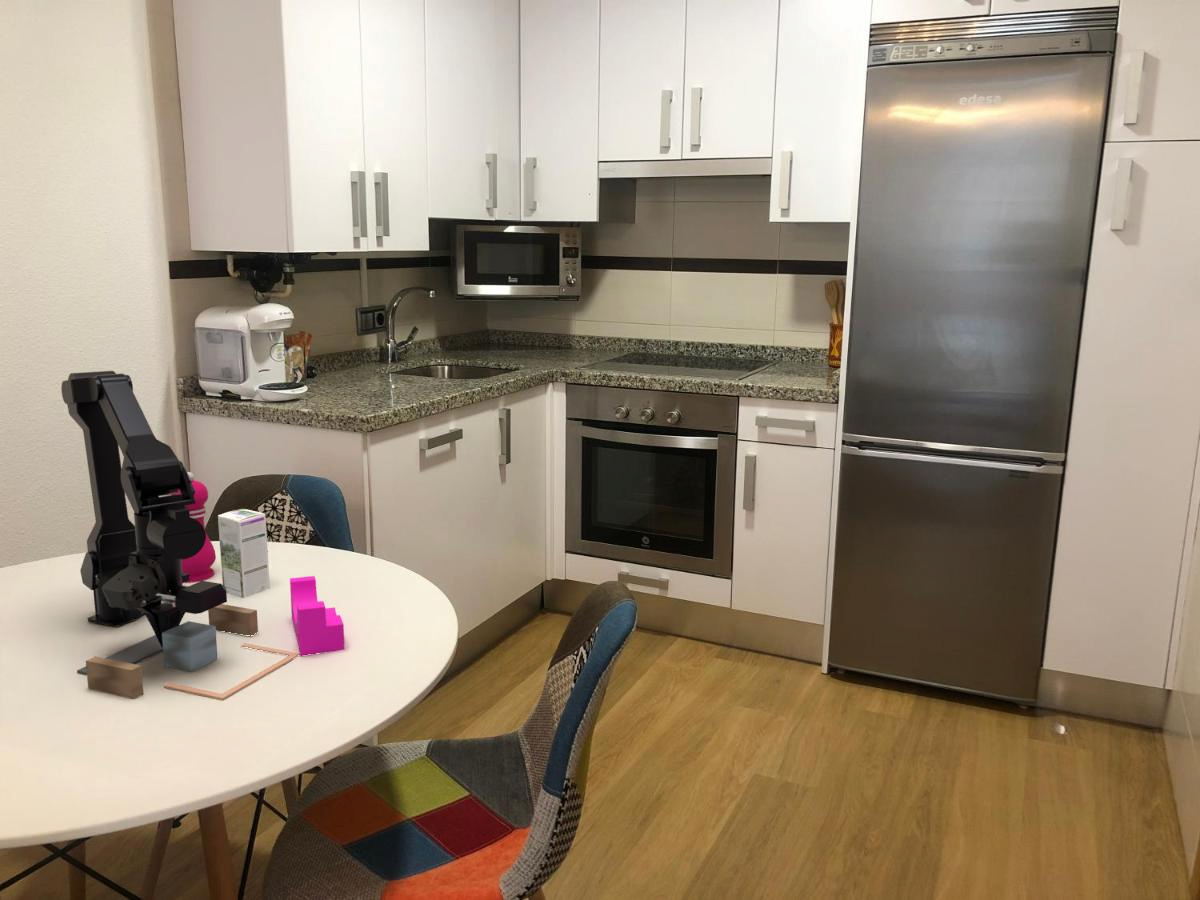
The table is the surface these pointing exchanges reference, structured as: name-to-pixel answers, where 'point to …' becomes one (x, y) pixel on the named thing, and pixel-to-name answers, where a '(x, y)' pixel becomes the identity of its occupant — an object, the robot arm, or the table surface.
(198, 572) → the pepper mill
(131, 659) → the grey flat board
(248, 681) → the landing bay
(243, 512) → the syrup box
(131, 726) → the table surface
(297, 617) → the toy block
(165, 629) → the robot arm
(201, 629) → the cube
